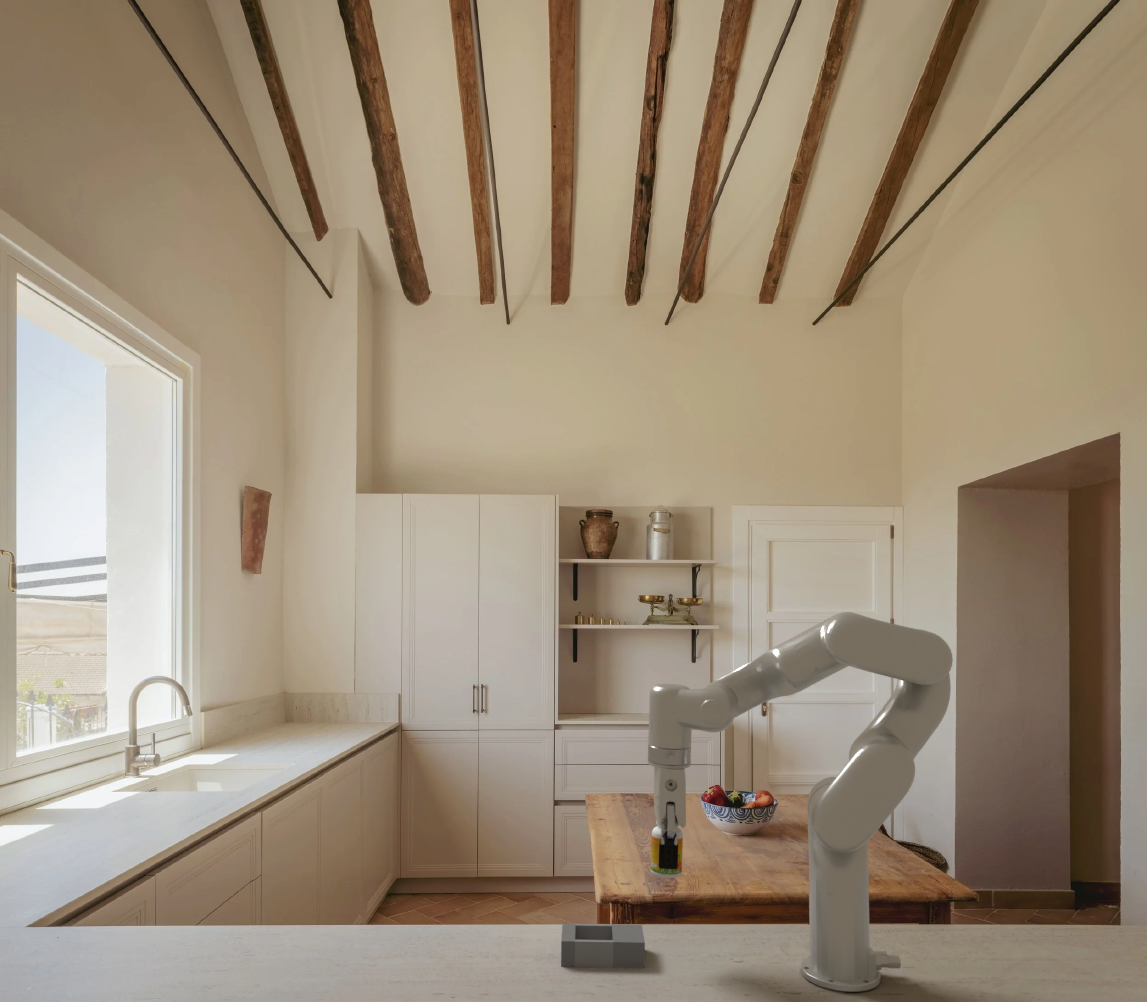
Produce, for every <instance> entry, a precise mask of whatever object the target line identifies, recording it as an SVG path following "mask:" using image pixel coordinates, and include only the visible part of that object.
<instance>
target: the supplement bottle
mask: <svg viewBox="0 0 1147 1002" xmlns="http://www.w3.org/2000/svg"><path fill="white" fill-rule="evenodd" d="M655 822H656V826H655V827H653V828H652V830H651V849H650V851H651V852H650V872H651V873H652V875H654V876H656V877H660V878H665V879H667V878H668V879H674V878H678V877H680V876H681V875H682V873H683V847H684V846H683V845H684V844H683V843H684V841H683V840H684V833H683V830H682V829H681V828H679V827H678V826H679V823H678V820H677V827H678V828H677V844H678V868H677V869H661V868H659V843H661V827H660V826H659V825H658V824H657V821H656V820H655ZM664 825H667V822H664ZM665 831H667V829H664V833H665Z"/></svg>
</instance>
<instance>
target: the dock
mask: <svg viewBox="0 0 1147 1002" xmlns="http://www.w3.org/2000/svg"><path fill="white" fill-rule="evenodd" d="M561 925H562V926H561V941H560V942H561V943H560V944H561V946H560V947H561V948H560V949H561V951H560V955H561V956H560V965H561V966H560V967H582V968H583V967H586V968H587V967H589V968H594V967H595V968H597V967H598V968H637V969H638V968H639V969H641V968H643V969H645V966H646V965H645V964H646V961H645V960H646V953H645V952H646V942H645V936H644V930H643V925H642V924H621V923H620V924H617V923H616V924H615V923H614V924H613V923H609V924H607V923H562V924H561Z"/></svg>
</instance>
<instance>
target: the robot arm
mask: <svg viewBox="0 0 1147 1002" xmlns="http://www.w3.org/2000/svg"><path fill="white" fill-rule="evenodd" d="M953 660H954V659H953V653H952V650H951V648H950V646H949V644H948V643H947V641H945V639H943V638H942V637H941V636H939V635H937V634H936V633H934V632H932V631H931V632H930V631H928V630H925V629H919V628H918V629H917V628H913V627H908V626H904V625H901V624H900V625H899V624H895V623H891V622H887V621H882V620H879V619H876V618H873V617H868V616H864V615H862V614H859V613H855V612H850V611H843V612H839V613H836V614H834V615H832V616H830V617H828V618H827V619H824V620H823V621H821V622H819V623H817V624H815V625H813V626H811V627H810V628H807V629H806V630H803V631H802V632H801V633H798V634H797V635H795V636H793V637H791V638H789V639H788V640H786V641H784V642H782V643H779V644H778V645H776V646H774V647H772V648H770V649H768V650H766V651H764V653H762V654H761V655H759V656H758V657H756V658H755V659H753V660H751V661H749V662H748V663H745V664H744V665H742V666H740V667H737V668H736V669H733V670H732V671H730V672H728V673H727V674H725V675H723V676H721V677H719V678H717V679H715V680H713V681H711V682H710V683H708V684H706V685H705V686H703V687H702V688H694V689H692V688H690V687H688V686H687V685H683V684H677V683H676V684H675V683H659V684H656V685H653V686H652V687H651V688H650V691H649V700H648V701H649V705H648V706H649V707H648V739H647V743H648V744H647V764H648V766H651V767H653V768H654V770H653V807H654V816H655V822H656V821H657V824H658V825H659V826H660V827H661V843H659V868H661V869H677V868H678V844H677V828H679V827H677V820H678V823H679V826H681V828H685V827H686V826H687V814H686V813H687V810H686V808H687V807H686V806H687V804H686V803H687V798H686V797H687V787H686V785H687V784H686V782H687V781H686V777H687V776H686V769H687V768H690V767H691V766H692V765H691V764H692V763H691V762H692V758H691V757H692V729H693V730H697V731H698V730H699V731H702V732H708V733H720V732H723V731H726V730H727V729H728V728H729V727H730V726H731V725H732V723H733V721H734V719H736V718H737V717H739V716H742V714H745V713H747V712H749V711H751V710H752V709H754V708H756V707H758V706H760V705H762V704H765V703H766V702H769V701H772V700H774V699H777V698H780V697H787V696H792V695H794V694H797V693H800V692H802V691H804V690H806V689H807V688H810V687H811V686H813V685H815V684H817V683H818V682H821V681H822V680H824V679H827V678H828V677H831V676H832V675H834V674H836V673H837V672H840V671H842V670H844V669H846V668H847V667H852V668H855V669H858V670H862V671H865V672H868V673H873V674H875V675H880V676H884V677H888V678H893V679H897V681H896V686H895V688H894V690H893V693H892V694H891V696H890V697H889V699H888V700H887V702H886V703H885V704H884V705H883V707H882V708H881V710H880V711H879V712H878V713H877V715H875V717H874V718H873V719H872V721H870V723H868V725H867V727H866V728H865V729H863V731H862V732H861V733H860V734H859V736H857V737H856V738H855V740H854V741H853V742H852V744H851V746H850V748H849V751H848V752H849V753H848V762H847V763H846V764H845V765H844V766H843V768H842V769H841V770H840V772H839V773H838V774H837V775H836V776H830V777H829V776H828V777H825V778H823V779H821V780H819V781H818V782H817V783H815V784H814V786H813V787H812V788H811V790H810V791H809V794H808V797H807V801H806V802H807V803H806V806H807V807H806V812H807V813H806V814H807V835H808V837H807V838H808V842H807V843H808V901H809V902H808V908H809V911H808V912H809V913H808V915H809V917H808V918H809V956H806V957H805V958H803V959H802V960H801V962H800V973H801V975H802V976H803V977H804V978H805V979H806V980H807V981H809V982H810V983H812V984H814V985H815V986H819V987H822V988H824V989H829V990H834V991H837V992H839V991H840V992H848V993H857V992H859V993H860V992H866V991H870V990H872V989H875V988H876V987H878V986H879V984H880V983H881V972H880V971H881V970H882V968H888V969H900V968H901V966H902V964H901V958H900V955H894V954H888V952H887V950H876V951H875V950H873V949H872V947H870V945H871V944H870V941H871V940H870V937H871V936H870V902H869V901H870V900H869V899H870V898H869V897H870V894H869V893H870V892H869V890H870V889H869V880H870V879H869V850H868V847H869V846H868V842H869V840H870V839H871V838H872V837H873V836H874V835H875V834H876V833H877V831H878V830H879V829H880V828H881V827H882V825H883V824H884V823H885V822H886V821H887V819H888V818H889V817H890V815H891V814H892V813H893V811H894V810H895V809H896V808H898V805H899V804H900V803H901V802H902V801H903V799H904V798H905V797H906V796H907V794H908V792H909V791H910V789H911V787H912V785H913V783H914V779H915V777H916V765H915V761H914V759H915V758H916V757H917V755H918V754H919V753H920V751H922V749H923V748H924V746H925V745H926V743H928V741H929V739H930V738H931V737H932V735H933V734H934V733H935V731H936V729H938V727H939V725H941V722H942V721H943V720H944V717H945V715H946V713H947V711H948V707H949V703H950V699H951V687H952V686H951V675H950V671H951V669H952V667H953ZM664 822H667V825H664ZM657 824H656V825H657ZM664 829H667V831H665V833H664Z"/></svg>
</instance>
